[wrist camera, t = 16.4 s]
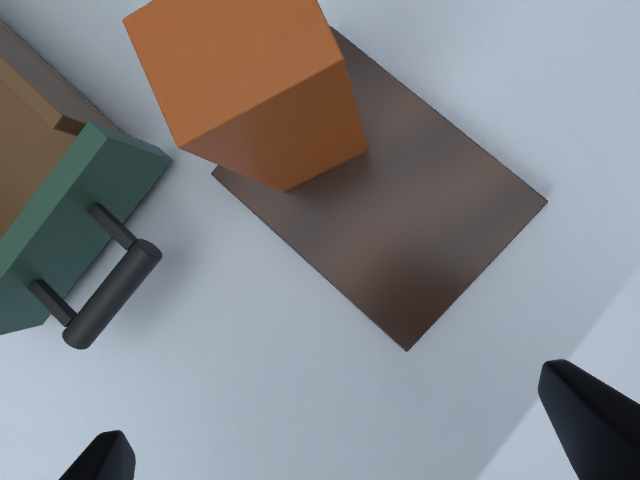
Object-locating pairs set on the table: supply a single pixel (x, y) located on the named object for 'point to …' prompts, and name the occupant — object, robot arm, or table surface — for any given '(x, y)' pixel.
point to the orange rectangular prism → (251, 85)
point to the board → (397, 208)
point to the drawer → (64, 198)
